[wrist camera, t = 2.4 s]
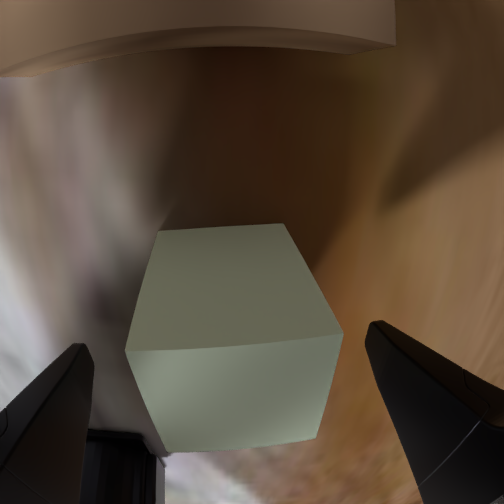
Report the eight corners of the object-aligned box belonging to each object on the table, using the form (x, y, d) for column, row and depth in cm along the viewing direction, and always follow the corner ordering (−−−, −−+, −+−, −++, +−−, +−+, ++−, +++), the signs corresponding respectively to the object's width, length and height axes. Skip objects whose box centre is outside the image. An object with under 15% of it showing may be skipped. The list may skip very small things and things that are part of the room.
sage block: (174, 327, 13) (167, 452, 8) (158, 230, 11) (124, 351, 6) (278, 320, 14) (315, 438, 8) (282, 222, 12) (343, 332, 6)
